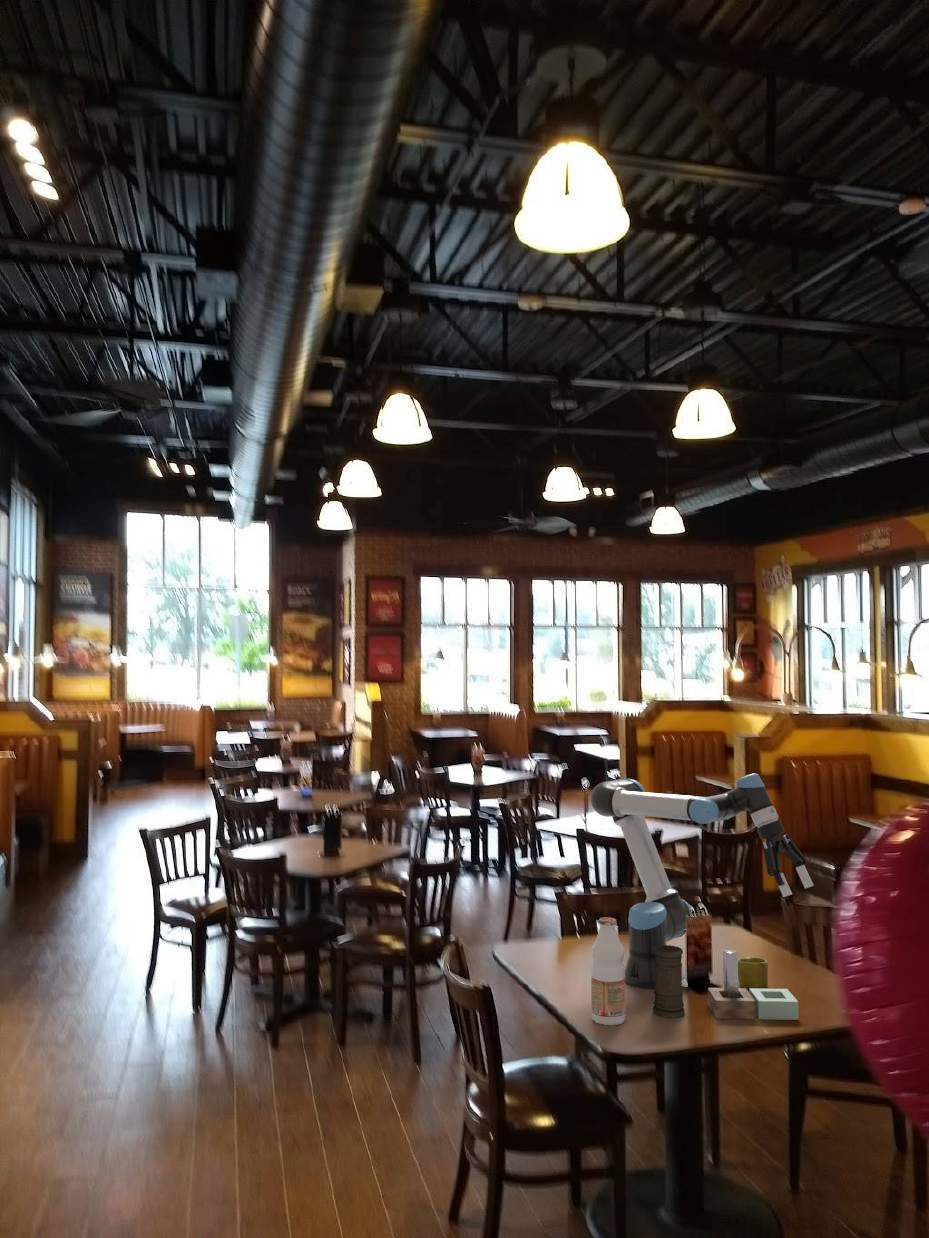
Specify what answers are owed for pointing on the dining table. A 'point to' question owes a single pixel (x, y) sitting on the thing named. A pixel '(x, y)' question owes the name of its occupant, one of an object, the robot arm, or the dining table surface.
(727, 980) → the pin
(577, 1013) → the dining table surface
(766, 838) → the robot arm
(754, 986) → the mug
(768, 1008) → the dock block
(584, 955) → the dining table surface
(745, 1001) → the block
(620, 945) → the fruit juice
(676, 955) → the container
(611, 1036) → the dining table surface
